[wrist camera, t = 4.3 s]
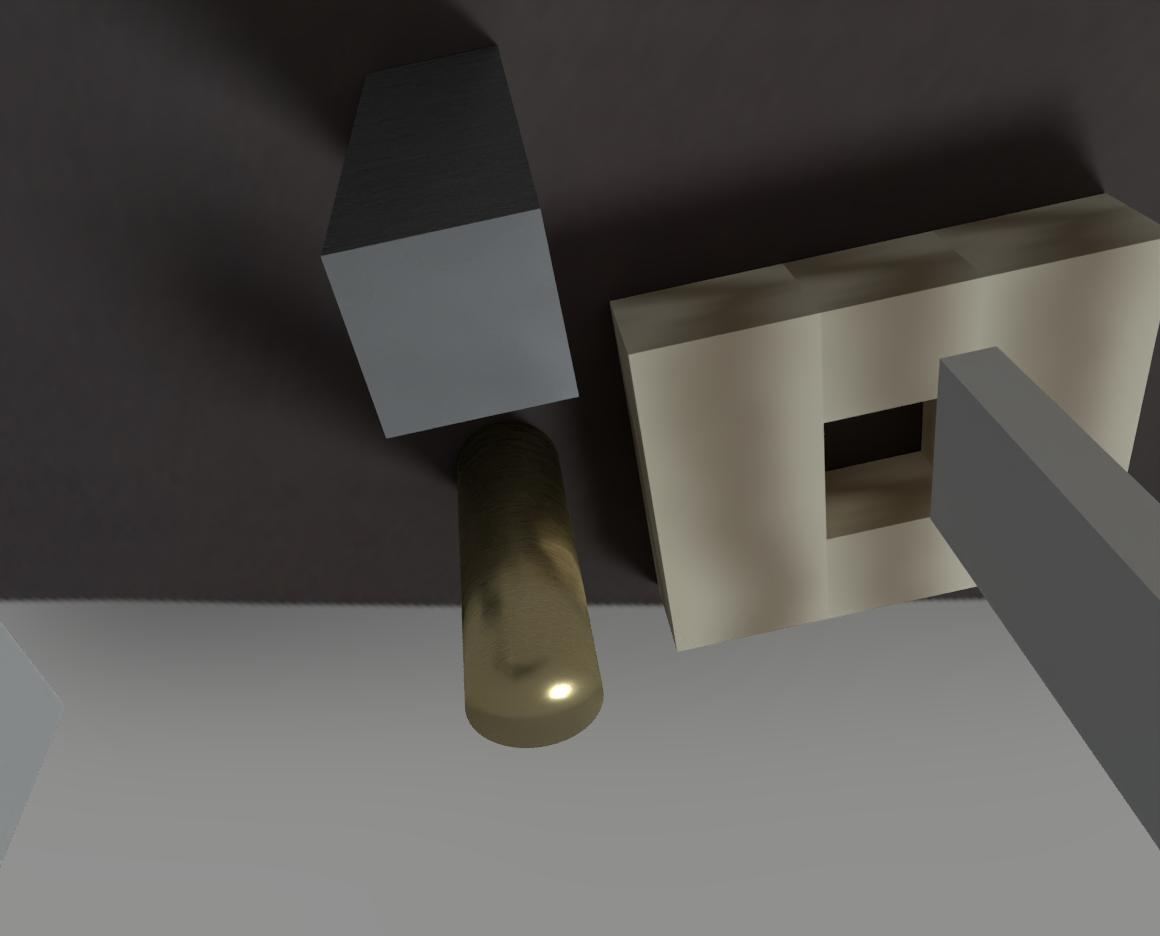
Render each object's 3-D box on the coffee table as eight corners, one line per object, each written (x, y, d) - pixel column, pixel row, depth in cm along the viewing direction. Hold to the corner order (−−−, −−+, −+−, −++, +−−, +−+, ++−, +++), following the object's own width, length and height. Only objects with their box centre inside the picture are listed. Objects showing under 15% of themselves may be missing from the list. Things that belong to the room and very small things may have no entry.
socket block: (658, 585, 42) (677, 651, 38) (609, 301, 33) (628, 354, 30) (1056, 498, 42) (1109, 557, 38) (1105, 193, 33) (1177, 234, 30)
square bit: (404, 201, 30) (386, 438, 19) (366, 73, 28) (320, 256, 17) (524, 175, 30) (579, 396, 19) (497, 45, 28) (540, 208, 17)
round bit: (470, 515, 38) (483, 760, 28) (445, 435, 36) (449, 671, 26) (567, 494, 38) (613, 731, 28) (548, 412, 36) (591, 640, 26)
